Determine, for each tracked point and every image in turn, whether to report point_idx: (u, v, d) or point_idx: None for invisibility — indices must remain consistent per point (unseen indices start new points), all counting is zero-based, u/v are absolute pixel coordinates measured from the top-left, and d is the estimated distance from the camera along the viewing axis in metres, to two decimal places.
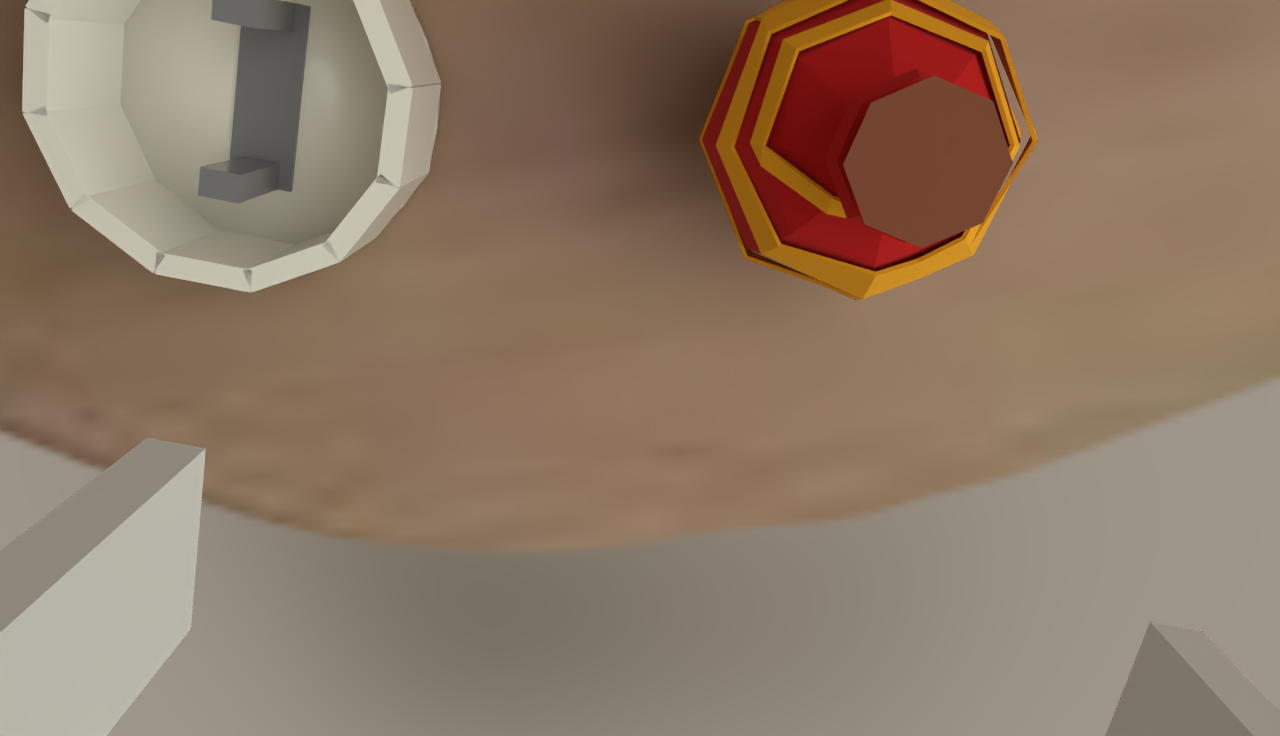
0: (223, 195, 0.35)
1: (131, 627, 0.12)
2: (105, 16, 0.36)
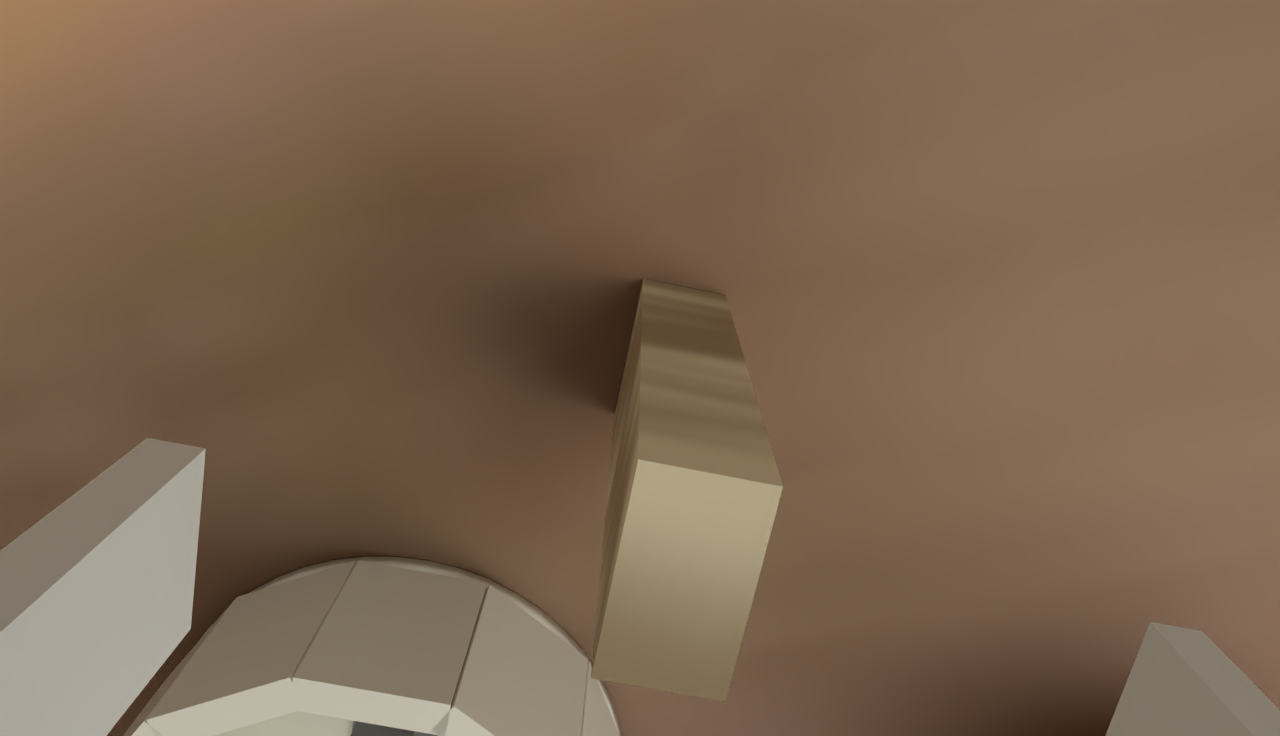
0: None
1: (131, 627, 0.12)
2: None
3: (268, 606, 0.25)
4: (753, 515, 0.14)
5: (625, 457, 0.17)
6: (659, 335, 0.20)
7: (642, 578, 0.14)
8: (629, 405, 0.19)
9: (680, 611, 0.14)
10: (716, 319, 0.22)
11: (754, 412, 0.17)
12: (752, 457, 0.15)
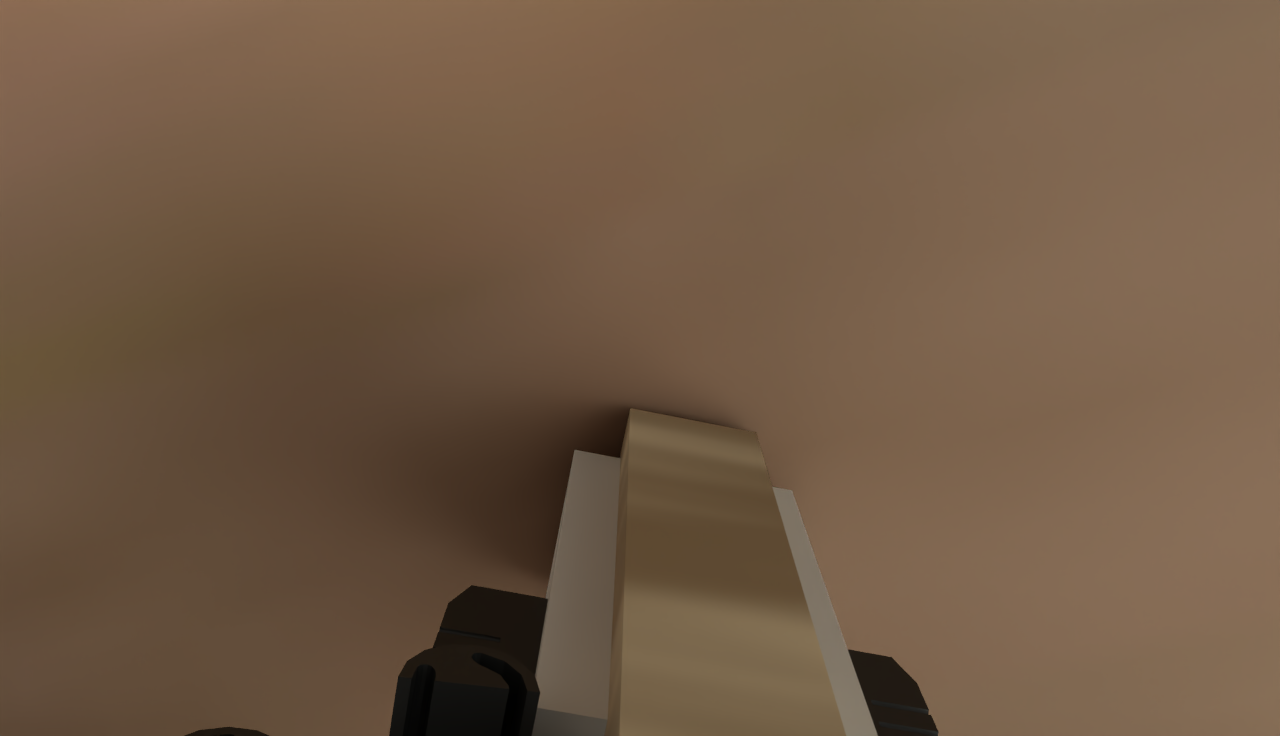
0: None
1: None
2: None
3: None
4: None
5: None
6: (656, 554, 0.11)
7: None
8: None
9: None
10: (748, 495, 0.13)
11: None
12: None
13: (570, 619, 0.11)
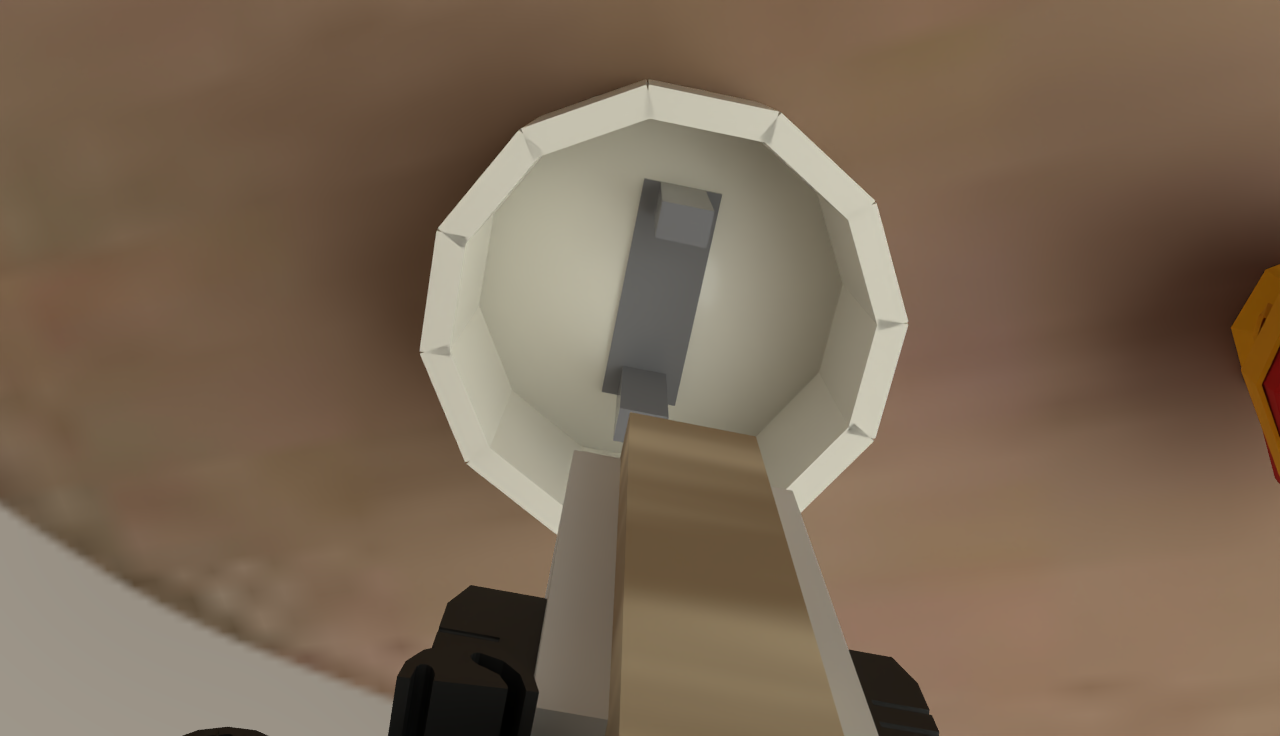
0: None
1: None
2: (491, 216, 0.29)
3: (580, 103, 0.29)
4: None
5: None
6: (656, 561, 0.11)
7: None
8: None
9: None
10: (748, 500, 0.13)
11: None
12: None
13: (569, 619, 0.11)
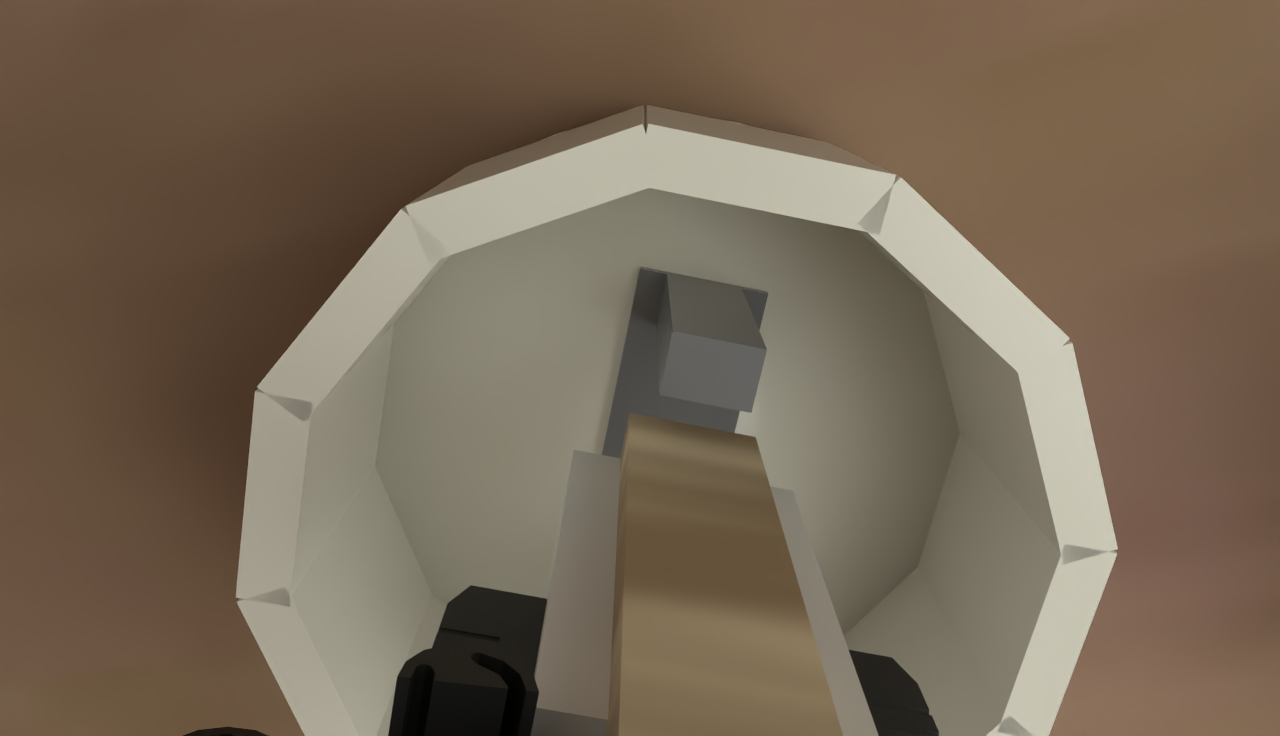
0: None
1: None
2: (381, 337, 0.17)
3: (530, 147, 0.17)
4: None
5: None
6: (656, 561, 0.11)
7: None
8: None
9: None
10: (748, 500, 0.13)
11: None
12: None
13: (569, 619, 0.11)
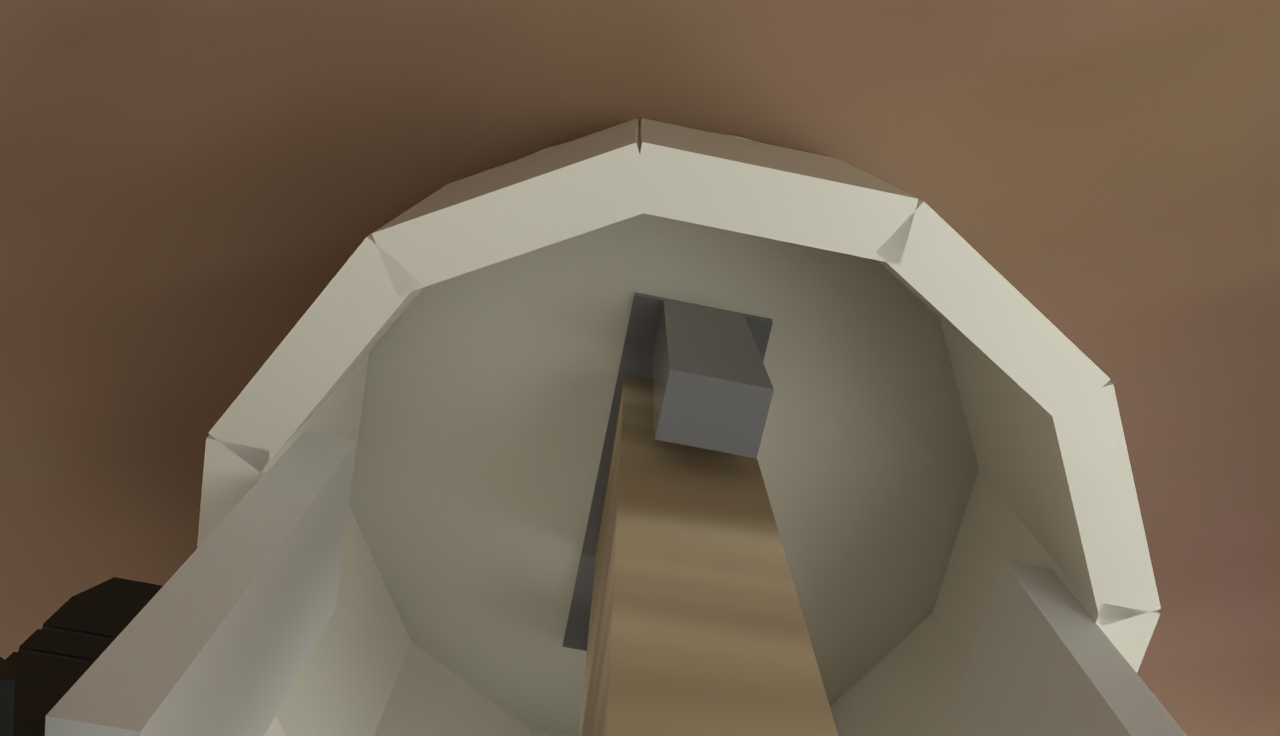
0: None
1: (304, 602, 0.13)
2: (352, 371, 0.16)
3: (514, 164, 0.16)
4: None
5: (593, 731, 0.10)
6: (645, 488, 0.13)
7: None
8: (603, 608, 0.12)
9: None
10: None
11: (804, 656, 0.10)
12: None
13: (168, 615, 0.10)
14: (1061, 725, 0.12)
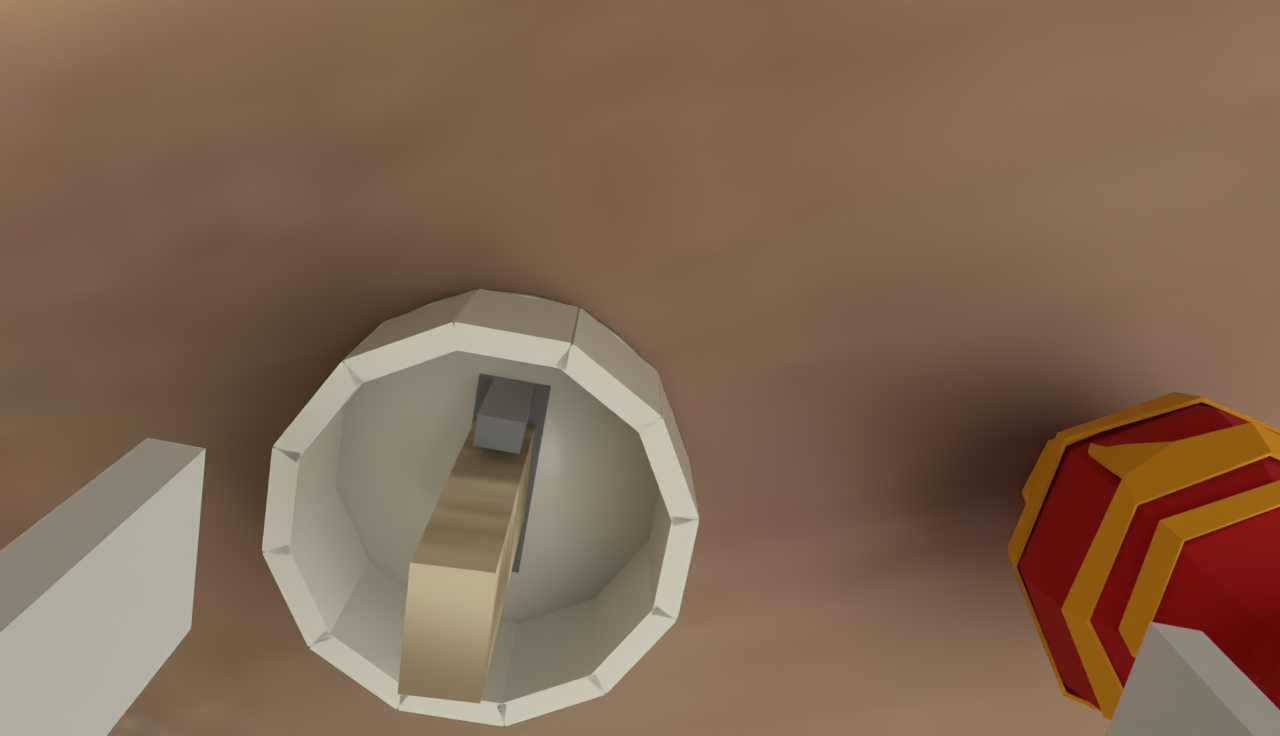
0: None
1: (131, 627, 0.12)
2: None
3: (413, 316, 0.32)
4: (481, 591, 0.24)
5: None
6: (465, 467, 0.30)
7: (421, 632, 0.24)
8: None
9: (446, 650, 0.24)
10: None
11: (505, 522, 0.27)
12: (486, 555, 0.25)
13: None
14: None
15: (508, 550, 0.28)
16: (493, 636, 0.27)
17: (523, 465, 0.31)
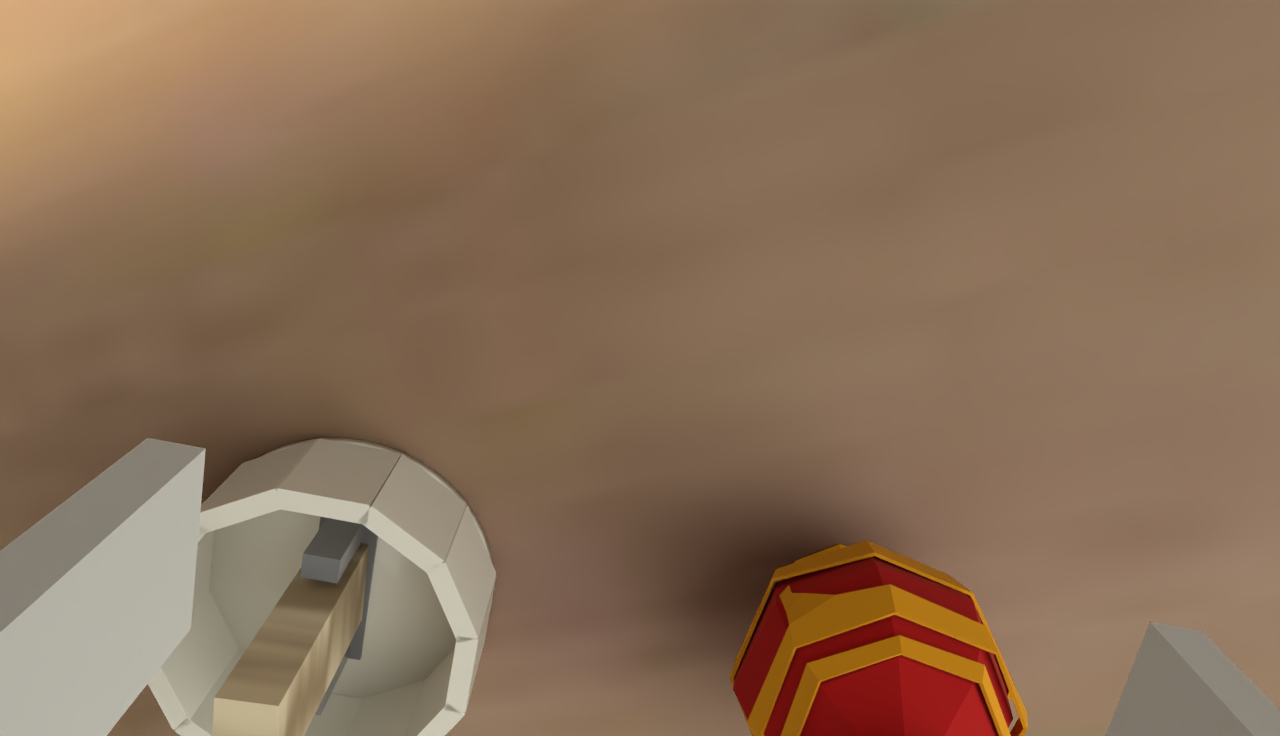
0: None
1: (131, 627, 0.12)
2: None
3: (262, 463, 0.40)
4: (268, 718, 0.32)
5: None
6: (292, 596, 0.38)
7: None
8: None
9: None
10: None
11: (304, 654, 0.34)
12: (277, 688, 0.33)
13: None
14: None
15: (316, 668, 0.36)
16: None
17: (341, 591, 0.39)
